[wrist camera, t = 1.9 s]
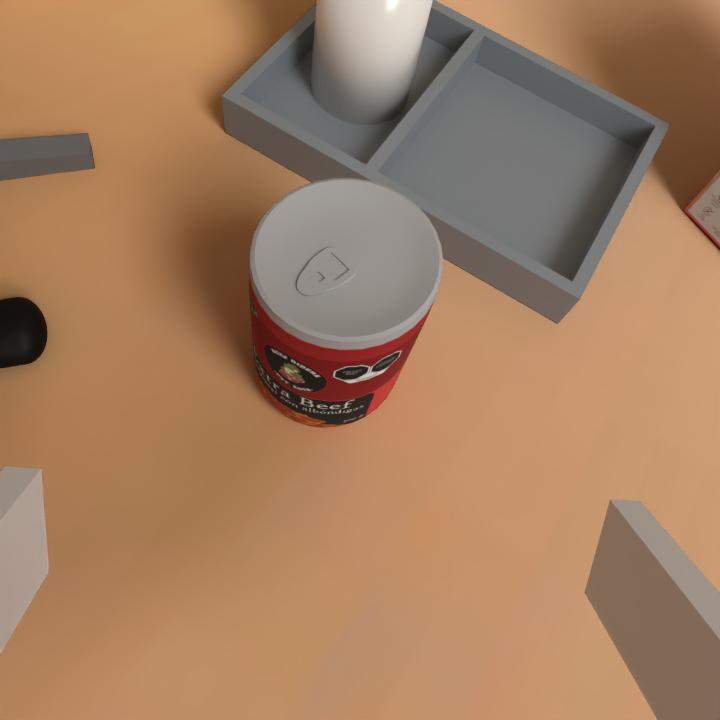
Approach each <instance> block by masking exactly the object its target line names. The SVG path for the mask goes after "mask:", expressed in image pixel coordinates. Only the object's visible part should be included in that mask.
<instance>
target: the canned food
mask: <svg viewBox="0 0 720 720" xmlns="http://www.w3.org/2000/svg"><path fill="white" fill-rule="evenodd" d="M442 270H443V255H442V247H441V243H440V241H439V238H438V235H437V232H436V230H435V228H434V227H433V225H432V223H431V222H430V220H429V218H428V217H427V216H426V215H425V214H424V213H423V211H422V210H421V209H420V208H419V207H418V206H417V205H416V204H415V203H413V202H412V201H411V200H409V199H408V198H407V197H406V196H404V195H403V194H401V193H399V192H397V191H395V190H393V189H391V188H389V187H388V186H385V185H382V184H378V183H375V182H372V181H368V180H362V179H355V178H332V179H326V180H320V181H316V182H313V183H310V184H307V185H304V186H301V187H299V188H297V189H295V190H293V191H292V192H290V193H288V194H286V195H285V196H283V197H282V198H281V199H280V200H278V201H277V202H276V203H275V204H274V205H272V207H271V208H270V209H269V210H268V211H267V213H266V214H265V215H264V216H263V217H262V219H261V221H260V223H259V225H258V227H257V229H256V231H255V233H254V236H253V240H252V244H251V248H250V255H249V292H250V306H251V321H252V336H253V351H254V366H255V372H256V376H257V381H258V383H259V385H260V387H261V390H262V392H263V394H264V395H265V396H266V398H267V399H268V400H269V402H270V403H271V404H272V405H273V406H274V407H275V408H276V409H278V410H279V411H280V412H281V413H282V414H284V415H286V416H287V417H289V418H291V419H293V420H294V421H296V422H299V423H302V424H305V425H308V426H315V427H337V426H341V425H345V424H349V423H353V422H355V421H357V420H359V419H361V418H363V417H365V416H367V415H368V414H370V413H371V412H372V411H374V410H375V409H377V408H378V407H379V405H380V404H381V403H382V402H383V401H384V400H385V399H386V398H387V396H388V395H389V393H390V391H391V390H392V388H393V386H394V384H395V382H396V380H397V378H398V376H399V374H400V372H401V370H402V368H403V366H404V364H405V362H406V360H407V358H408V355H409V353H410V351H411V349H412V347H413V345H414V343H415V341H416V339H417V337H418V335H419V333H420V331H421V329H422V327H423V325H424V323H425V321H426V318H427V316H428V314H429V312H430V309H431V307H432V305H433V303H434V301H435V298H436V295H437V292H438V289H439V286H440V281H441V278H442Z"/></svg>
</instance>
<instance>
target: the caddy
mask: <svg viewBox="0 0 720 720" xmlns="http://www.w3.org/2000/svg"><path fill="white" fill-rule="evenodd" d="M315 15H316V4H315V5H314V6H313V7H312V8H311V9H310V10H309V11H308V12H307V13H306V14H305V15H304V16H303V17H302V18H301V19H300V20H298V21H297V22H296V23H295V24H294V25H293V26H292V27H291V28H290V29H289V30H288V31H287V32H286V33H285V34H284V35H283V36H282V37H281V38H280V39H279V40H278V41H277V42H276V43H275V44H274V45H273V46H272V47H271V48H270V49H269V50H268V51H267V52H266V53H265V54H264V55H263V56H262V57H261V58H260V59H259V60H258V61H257V62H256V63H255V64H253V65H252V66H251V67H250V68H249V69H248V70H247V71H246V72H245V73H244V74H243V75H242V76H241V77H240V78H239V79H238V80H237V81H236V82H235V83H234V84H233V85H232V86H231V87H230V88H229V89H228V90H227V91H226V92H225V93H224V94H223V95H222V104H223V116H224V127H225V132H226V133H227V134H229V135H231V136H232V137H234V138H236V139H238V140H239V141H241V142H243V143H245V144H246V145H248V146H250V147H252V148H253V149H255V150H257V151H259V152H260V153H262V154H264V155H265V156H267V157H269V158H271V159H272V160H274V161H276V162H278V163H279V164H281V165H283V166H285V167H286V168H288V169H290V170H292V171H293V172H295V173H297V174H298V175H300V176H302V177H304V178H305V179H307V180H309V181H311V182H312V183H313V182H316V181H320V180H326V179H332V178H355V179H362V180H368V181H372V182H375V183H378V184H382V185H385V186H388V187H389V188H391V189H393V190H395V191H397V192H399V193H401V194H403V195H404V196H406V197H407V198H408V199H409V200H411V201H412V202H413V203H415V204H416V205H417V206H418V207H419V208H420V209H421V210H422V211H423V213H424V214H425V215H426V216H427V217H428V218H429V220H430V222H431V223H432V225H433V227H434V228H435V230H436V232H437V235H438V238H439V241H440V243H441V247H442V255H443V258H444V259H446V260H448V261H450V262H451V263H453V264H455V265H457V266H458V267H460V268H462V269H463V270H465V271H467V272H469V273H470V274H472V275H474V276H476V277H477V278H479V279H481V280H483V281H484V282H486V283H488V284H490V285H491V286H493V287H495V288H496V289H498V290H500V291H502V292H503V293H505V294H507V295H509V296H510V297H512V298H514V299H516V300H517V301H519V302H521V303H523V304H524V305H526V306H528V307H529V308H531V309H533V310H535V311H536V312H538V313H540V314H542V315H543V316H545V317H547V318H549V319H550V320H552V321H554V322H556V323H557V324H558V323H559V322H560V321H561V320H562V319H563V317H564V316H565V315H566V314H567V313H568V312H569V311H570V310H571V308H572V307H573V306H574V305H575V304H576V303H577V302H578V301H579V300H580V298H581V296H582V294H583V292H584V290H585V288H586V286H587V284H588V282H589V281H590V279H591V277H592V275H593V273H594V271H595V269H596V267H597V265H598V263H599V261H600V259H601V257H602V255H603V254H604V252H605V250H606V248H607V246H608V244H609V242H610V240H611V238H612V236H613V234H614V232H615V230H616V228H617V227H618V225H619V223H620V221H621V219H622V217H623V215H624V213H625V211H626V209H627V207H628V205H629V203H630V201H631V200H632V198H633V196H634V194H635V192H636V190H637V188H638V186H639V184H640V182H641V180H642V178H643V176H644V174H645V173H646V171H647V169H648V167H649V165H650V163H651V161H652V159H653V157H654V155H655V153H656V151H657V149H658V147H659V146H660V144H661V142H662V140H663V138H664V136H665V134H666V132H667V130H668V128H669V126H670V124H669V123H667V122H665V121H663V120H662V119H660V118H658V117H656V116H654V115H652V114H650V113H648V112H646V111H644V110H643V109H641V108H639V107H637V106H635V105H633V104H631V103H629V102H627V101H625V100H623V99H622V98H620V97H618V96H616V95H614V94H612V93H610V92H608V91H606V90H604V89H603V88H601V87H599V86H597V85H595V84H593V83H591V82H589V81H587V80H585V79H583V78H582V77H580V76H578V75H576V74H574V73H572V72H570V71H568V70H566V69H564V68H563V67H561V66H559V65H557V64H555V63H553V62H551V61H549V60H547V59H545V58H543V57H542V56H540V55H538V54H536V53H534V52H532V51H530V50H528V49H526V48H524V47H523V46H521V45H519V44H517V43H515V42H513V41H511V40H509V39H507V38H505V37H503V36H502V35H500V34H498V33H496V32H494V31H492V30H490V29H488V28H486V27H484V26H482V25H481V24H479V23H477V22H475V21H473V20H471V19H469V18H467V17H465V16H463V15H462V14H460V13H458V12H456V11H454V10H452V9H450V8H448V7H446V6H444V5H442V4H441V3H439V2H437V1H435V0H433V2H432V6H431V10H430V14H429V18H428V22H427V26H426V30H425V34H424V38H423V42H422V45H421V49H420V53H419V57H418V61H417V65H416V69H415V73H414V77H413V81H412V85H411V89H410V93H409V97H408V101H407V104H406V106H405V108H404V109H403V111H402V112H401V113H400V114H399V115H398V116H396V117H395V118H393V119H391V120H390V121H387V122H385V123H381V124H377V125H356V124H351V123H347V122H344V121H341V120H339V119H337V118H335V117H333V116H331V115H330V114H328V113H327V112H326V111H325V110H323V109H322V108H321V106H320V105H319V104H318V103H317V101H316V100H315V98H314V96H313V93H312V90H311V71H312V57H313V43H314V29H315Z"/></svg>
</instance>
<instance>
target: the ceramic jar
mask: <svg viewBox="0 0 720 720" xmlns="http://www.w3.org/2000/svg"><path fill="white" fill-rule="evenodd" d="M432 2H433V0H317V1H316V15H315V29H314V43H313V57H312V71H311V90H312V93H313V96H314V98H315V100H316V101H317V103H318V104H319V105H320V106H321V108H322V109H323V110H325V111H326V112H327V113H328V114H330V115H331V116H333V117H335V118H337V119H339V120H341V121H344V122H347V123H351V124H356V125H377V124H381V123H385V122H387V121H390V120H391V119H393V118H395V117H396V116H398V115H399V114H400V113H401V112H402V111H403V109H404V108H405V106H406V104H407V101H408V97H409V93H410V89H411V85H412V81H413V77H414V73H415V69H416V65H417V61H418V57H419V53H420V49H421V45H422V42H423V38H424V34H425V30H426V26H427V22H428V18H429V14H430V10H431V6H432Z"/></svg>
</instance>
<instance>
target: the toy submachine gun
mask: <svg viewBox="0 0 720 720" xmlns="http://www.w3.org/2000/svg"><path fill="white" fill-rule="evenodd" d="M94 168H95V165H94V159H93V153H92V147H91V143H90V139H89V135H88V133H83V134H69V135H55V136H42V137H28V138H15V139H1V140H0V181H2V180H10V179H17V178H25V177H33V176H40V175H48V174H55V173H63V172H71V171H78V170H86V169H94ZM46 342H47V325H46V321H45V318H44V316H43V314H42V312H41V310H40V309H39V308H38V307H37V305H35V304H34V303H33V302H32V301H30V300H28V299H26V298H21V297H16V298H9V299H2V300H0V368H6V367H12V366H18V365H24V364H29V363H32V362H34V361H35V360H36V359H38V358H39V356H40V355H41V354H42V352H43V350H44V348H45V345H46Z"/></svg>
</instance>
